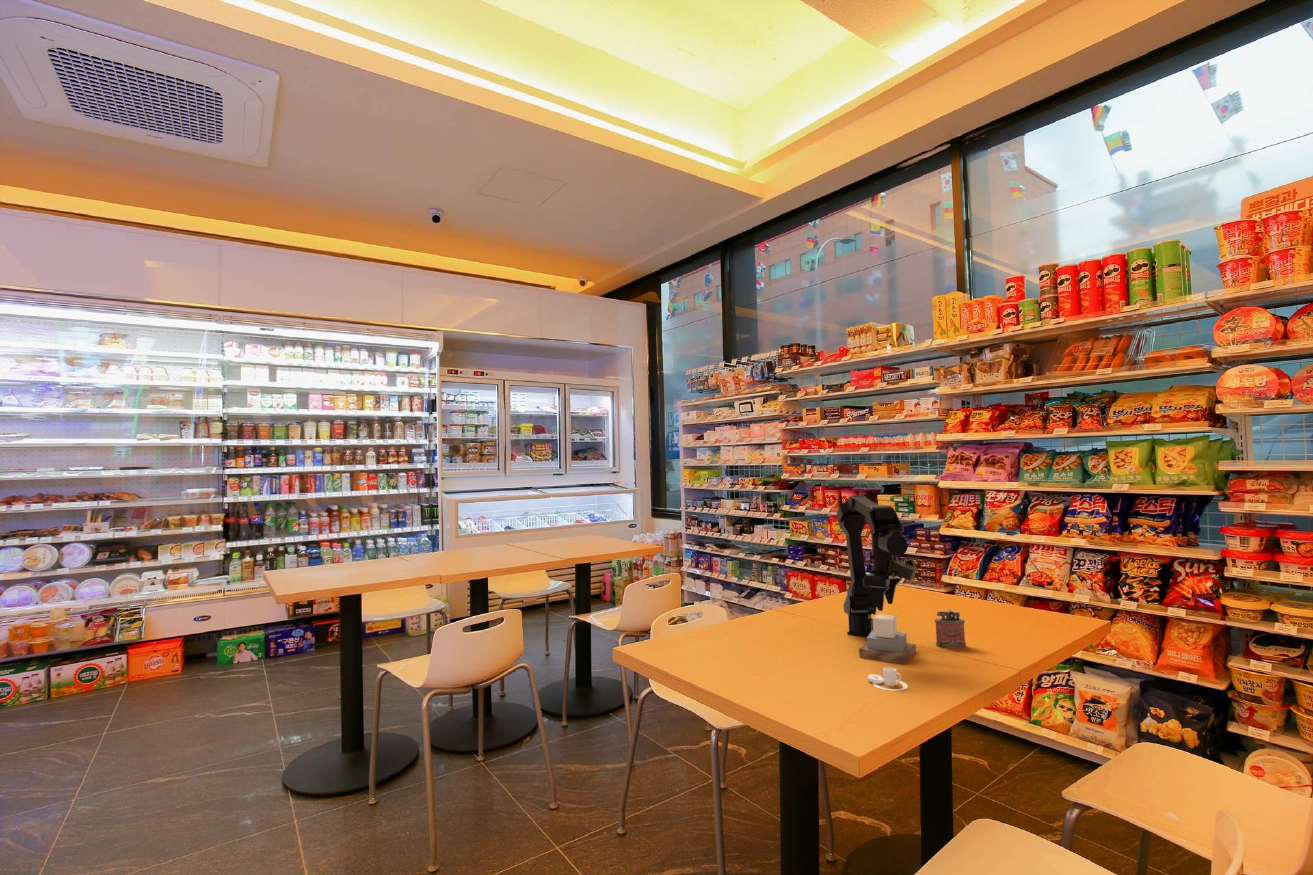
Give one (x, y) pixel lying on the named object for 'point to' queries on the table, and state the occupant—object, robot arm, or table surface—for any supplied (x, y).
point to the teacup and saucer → (887, 679)
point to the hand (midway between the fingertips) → (885, 607)
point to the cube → (885, 626)
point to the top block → (887, 642)
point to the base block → (888, 654)
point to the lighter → (950, 630)
